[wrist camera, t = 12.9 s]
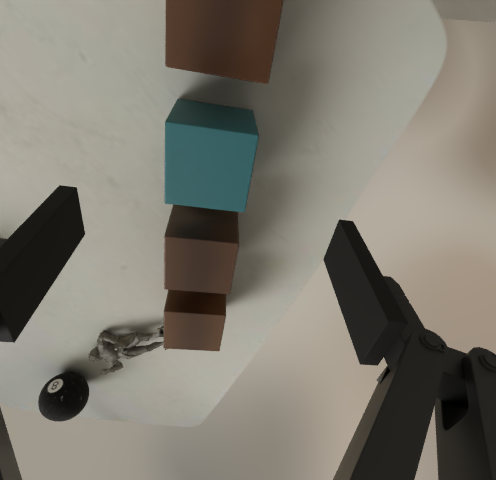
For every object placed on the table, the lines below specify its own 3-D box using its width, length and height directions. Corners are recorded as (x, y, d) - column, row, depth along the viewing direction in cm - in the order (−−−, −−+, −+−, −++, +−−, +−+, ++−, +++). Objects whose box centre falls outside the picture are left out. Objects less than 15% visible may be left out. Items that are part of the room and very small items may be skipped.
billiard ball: (62, 388, 48) (43, 430, 44) (43, 366, 45) (21, 410, 40) (100, 384, 48) (86, 426, 43) (85, 362, 45) (67, 405, 40)
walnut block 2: (237, 206, 30) (239, 243, 26) (229, 253, 34) (229, 294, 29) (173, 198, 30) (162, 236, 25) (171, 248, 33) (162, 289, 28)
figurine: (178, 362, 39) (92, 390, 40) (183, 342, 43) (104, 368, 44) (157, 322, 37) (67, 353, 38) (165, 305, 41) (82, 334, 42)
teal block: (253, 110, 25) (259, 135, 20) (242, 178, 29) (244, 212, 24) (175, 97, 24) (162, 120, 20) (173, 169, 28) (162, 203, 23)
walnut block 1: (277, -38, 20) (293, -51, 15) (260, 68, 23) (268, 84, 19) (179, -60, 19) (162, -81, 14) (176, 53, 23) (162, 66, 18)
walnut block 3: (226, 274, 36) (226, 315, 31) (220, 309, 39) (219, 351, 34) (171, 269, 35) (162, 311, 30) (170, 305, 38) (162, 348, 34)
